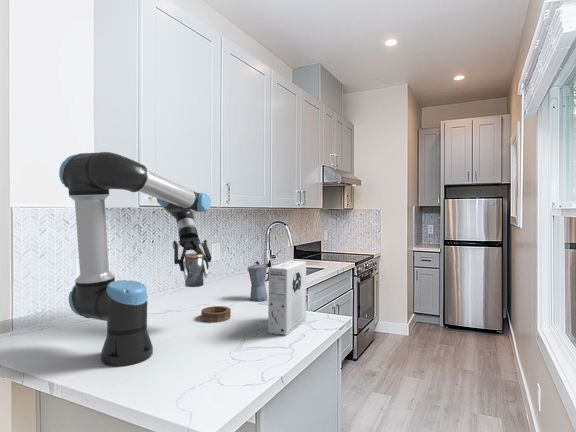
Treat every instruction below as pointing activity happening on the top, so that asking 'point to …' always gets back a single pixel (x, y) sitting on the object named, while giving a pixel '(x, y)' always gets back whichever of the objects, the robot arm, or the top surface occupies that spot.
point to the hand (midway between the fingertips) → (196, 276)
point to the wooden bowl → (216, 314)
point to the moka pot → (258, 281)
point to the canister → (194, 270)
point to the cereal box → (287, 296)
